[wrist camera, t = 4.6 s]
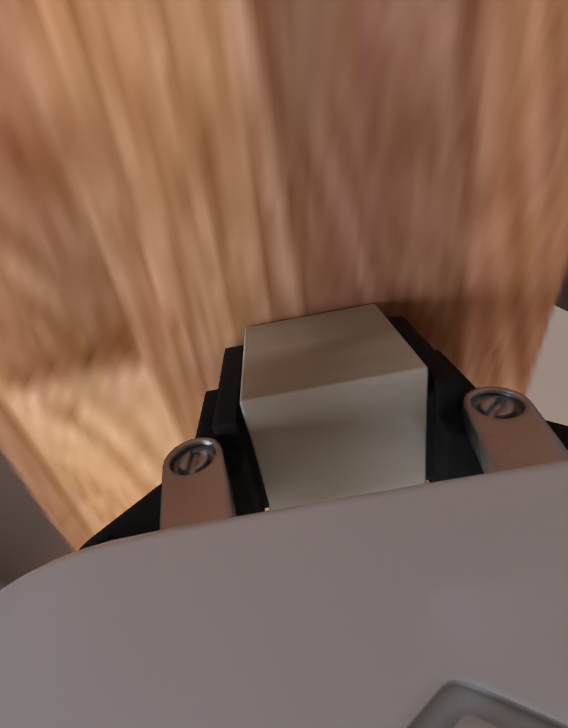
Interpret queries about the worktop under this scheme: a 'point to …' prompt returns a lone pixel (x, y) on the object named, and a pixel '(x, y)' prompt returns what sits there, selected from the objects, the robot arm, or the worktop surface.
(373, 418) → the block
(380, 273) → the worktop surface
